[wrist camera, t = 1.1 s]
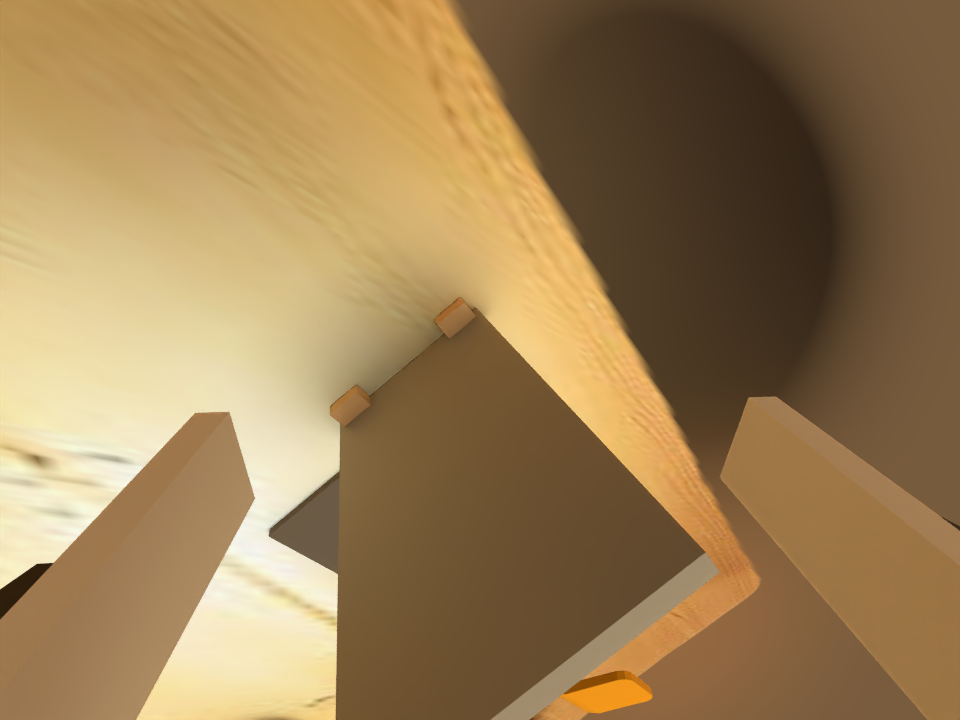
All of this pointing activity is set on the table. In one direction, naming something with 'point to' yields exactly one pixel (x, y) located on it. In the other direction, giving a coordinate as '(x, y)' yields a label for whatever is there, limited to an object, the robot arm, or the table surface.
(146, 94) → the table surface
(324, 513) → the coaster
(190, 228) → the table surface
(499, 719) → the divider
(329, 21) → the table surface
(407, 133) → the table surface
